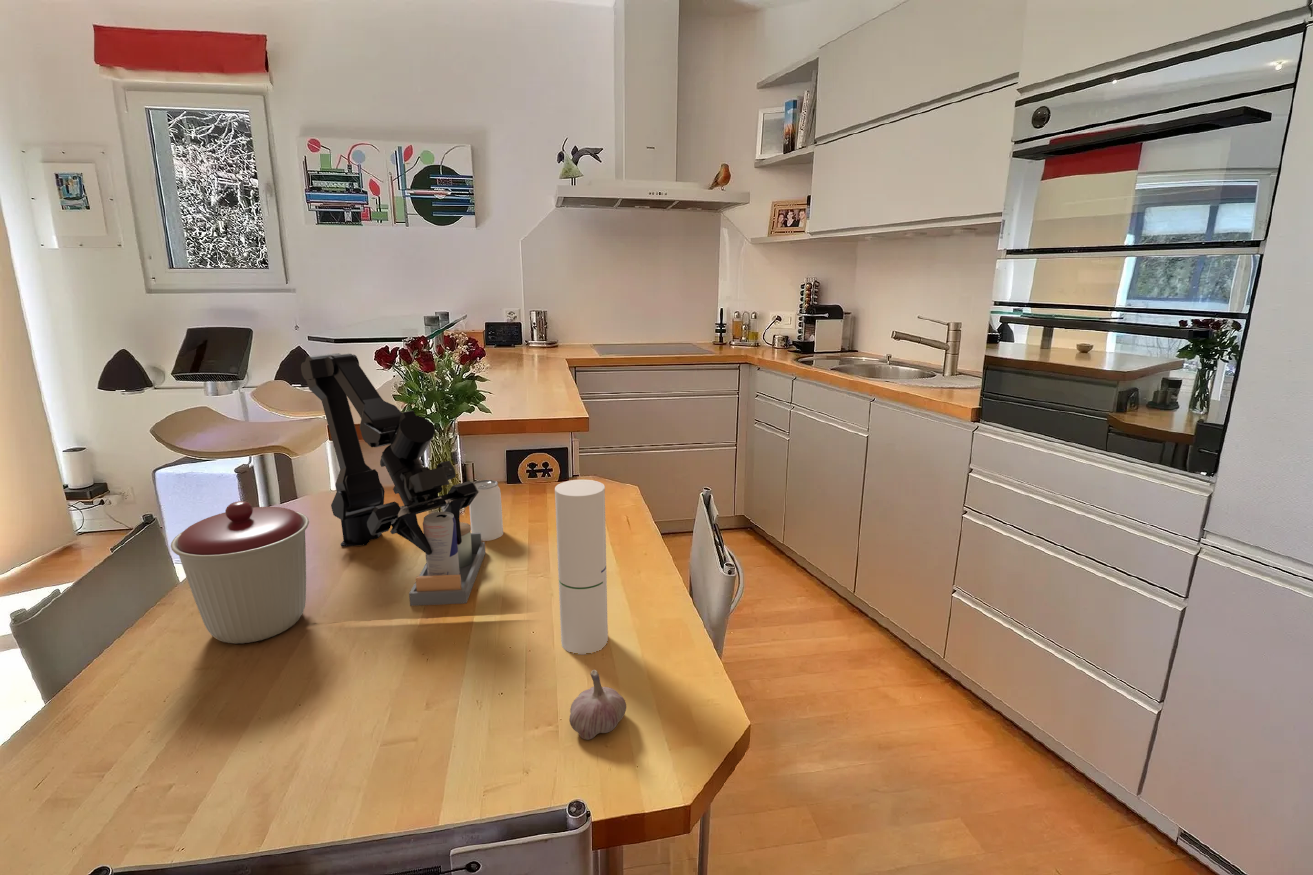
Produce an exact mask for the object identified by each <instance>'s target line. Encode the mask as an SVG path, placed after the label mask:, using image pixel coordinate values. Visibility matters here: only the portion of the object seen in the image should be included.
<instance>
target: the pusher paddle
mask: <svg viewBox="0 0 1313 875" xmlns="http://www.w3.org/2000/svg"><path fill="white" fill-rule="evenodd" d="M415 582H416V588H417V592H418V591H442V590H462V587H461V575H437V576H419V575H417V576H416V577H415Z"/></svg>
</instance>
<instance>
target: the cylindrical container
mask: <svg viewBox="0 0 1313 875" xmlns="http://www.w3.org/2000/svg"><path fill="white" fill-rule="evenodd" d="M605 490H606V489H605V484H604V483H603V482H600V481H597V480H592V479H571V480H567V481H562V482H561V483H558V484H557V485H555V486H554V501H555V503H554V504H555V523H556V524H555V525H556V548H557V554H556V555H557V572H558V577H557V578H558V591H559V592H558V594H559V596H558V597H559V600H558V601H559V620H560V621H559V622H560V642H561V644H562V645H561V647H562V648H563V650H565V651H566V652H568V653H570V652H573V653H572V654H574V653H578V654H577V655H587V654H586V653H591V654H593V653H592V652H595V653H597V652H596V651H598V652H599V650H600V651H602V650H603V649H604V648H605V647H606V646H607V645H606V643H607V644H608V642H609V630H608V629H609V628H608V627H609V626H608V624H609V623H608V587H607V586H608V585H607V581H608V580H607V578H608V577H607V576H608V575H607V544H606V543H607V540H606V537H607V536H606V535H607V534H606V495H605V494H606V491H605ZM607 641H608V642H607ZM605 645H606V646H605ZM604 646H605V647H604ZM603 647H604V648H603ZM602 648H603V649H602Z"/></svg>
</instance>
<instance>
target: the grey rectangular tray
mask: <svg viewBox="0 0 1313 875" xmlns="http://www.w3.org/2000/svg"><path fill="white" fill-rule="evenodd" d="M471 544H472V556H473V562H472V563H471V564H470V565H468V566H466V567H463V568H459V571H460V575H461V587H462V590H442V591H418V592H417V588H416V581H415V583H414V584H413V586H412V587H411V589H410V591H409V592H408V596H409V606H410V607H411V606H413V607H414V606H416V607H417V606H433V605H458V604H459V605H460V604H467V603H468V600H469V597H470V594H471V592H472V589H473V587H474V585H475V582H476V579H477V576H478V573H479V571H480V569H481V566H482V563H483V560H484V558H485V555H486V541H482V540H481V533H471ZM418 576H428V575H427V564H426V563H425V565H424V566H423V568H422V570H421V571H420V574H419V575H418Z"/></svg>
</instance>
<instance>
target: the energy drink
mask: <svg viewBox="0 0 1313 875" xmlns="http://www.w3.org/2000/svg"><path fill="white" fill-rule="evenodd" d="M422 532H423V534H424V536H425V537H426V539H427V541H428V543H429V545H430V548H431V550H432V553H431V554H430V555H427V554H426V553H425V561H426V562H425V564H427V575H428V576H437V575H460V571H459V558H458V545H457V533H456V520H455V518H454V515H453V514H452V513H450V512H443V511H436V512H432V513H428V514H427V515H425V516H424V517H423V522H422Z"/></svg>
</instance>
